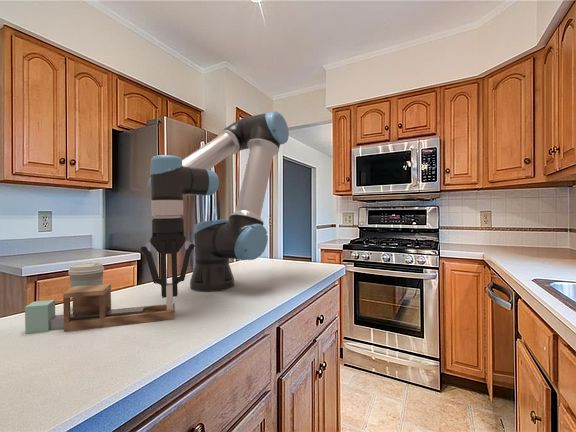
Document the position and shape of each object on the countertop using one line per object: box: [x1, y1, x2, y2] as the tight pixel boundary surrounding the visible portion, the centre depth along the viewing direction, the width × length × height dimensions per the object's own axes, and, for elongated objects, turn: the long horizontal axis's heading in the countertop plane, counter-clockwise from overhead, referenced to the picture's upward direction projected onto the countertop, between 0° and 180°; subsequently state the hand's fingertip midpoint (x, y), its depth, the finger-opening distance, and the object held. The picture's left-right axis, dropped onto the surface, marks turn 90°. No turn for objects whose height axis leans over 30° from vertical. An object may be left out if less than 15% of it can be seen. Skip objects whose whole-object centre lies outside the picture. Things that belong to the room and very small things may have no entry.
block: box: [24, 299, 56, 335], centre depth 71 cm, size 4×4×6 cm
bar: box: [49, 306, 144, 331], centre depth 75 cm, size 19×3×3 cm, turn 107°
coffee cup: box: [67, 262, 105, 289], centre depth 87 cm, size 9×8×12 cm
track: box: [62, 283, 176, 332], centre depth 77 cm, size 23×7×8 cm, turn 109°
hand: (170, 309), depth 80 cm, fingers closed
